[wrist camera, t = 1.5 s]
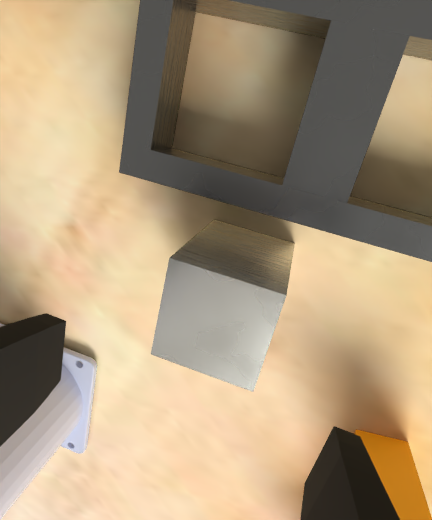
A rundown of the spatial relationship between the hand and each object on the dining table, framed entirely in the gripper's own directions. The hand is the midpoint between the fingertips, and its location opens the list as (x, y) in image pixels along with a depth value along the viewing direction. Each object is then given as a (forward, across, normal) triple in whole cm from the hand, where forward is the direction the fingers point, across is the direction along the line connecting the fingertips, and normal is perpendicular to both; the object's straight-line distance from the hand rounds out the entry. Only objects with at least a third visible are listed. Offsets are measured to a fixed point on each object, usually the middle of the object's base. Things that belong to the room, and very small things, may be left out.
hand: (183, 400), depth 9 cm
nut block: (+10, 0, 0) cm, 10 cm away
